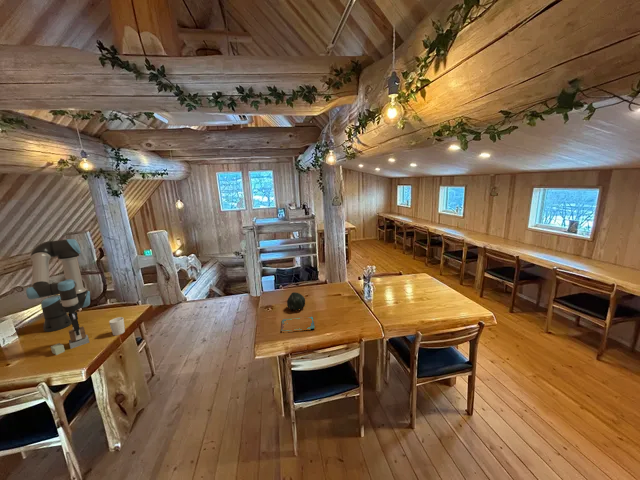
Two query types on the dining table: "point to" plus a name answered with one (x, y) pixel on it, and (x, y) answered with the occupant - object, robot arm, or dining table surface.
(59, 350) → the sage block
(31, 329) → the dining table surface
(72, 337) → the walnut block
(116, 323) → the white cup
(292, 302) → the squash
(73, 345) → the grey slab
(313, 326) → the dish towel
